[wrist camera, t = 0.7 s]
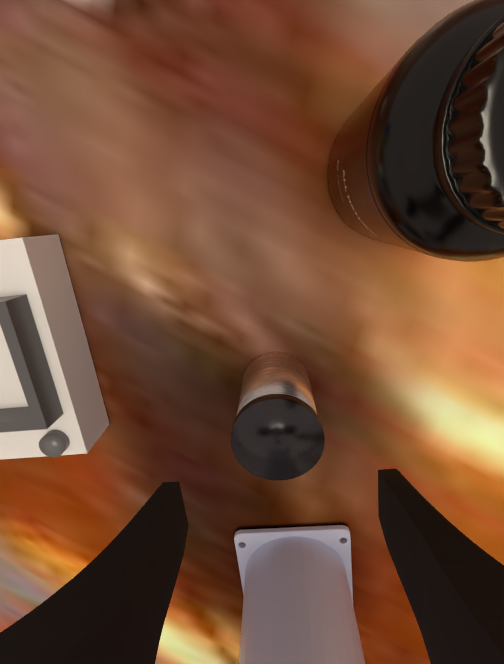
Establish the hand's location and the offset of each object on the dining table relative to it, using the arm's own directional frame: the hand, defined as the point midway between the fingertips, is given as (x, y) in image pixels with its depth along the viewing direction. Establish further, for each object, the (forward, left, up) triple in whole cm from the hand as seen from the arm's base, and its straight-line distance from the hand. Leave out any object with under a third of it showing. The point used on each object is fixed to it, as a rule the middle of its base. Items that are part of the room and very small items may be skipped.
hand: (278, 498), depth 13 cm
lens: (0, 0, -9) cm, 9 cm away
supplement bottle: (+11, -7, -10) cm, 16 cm away
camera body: (+4, +15, -9) cm, 18 cm away
